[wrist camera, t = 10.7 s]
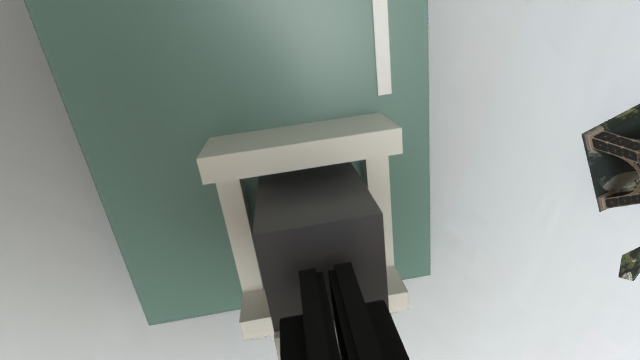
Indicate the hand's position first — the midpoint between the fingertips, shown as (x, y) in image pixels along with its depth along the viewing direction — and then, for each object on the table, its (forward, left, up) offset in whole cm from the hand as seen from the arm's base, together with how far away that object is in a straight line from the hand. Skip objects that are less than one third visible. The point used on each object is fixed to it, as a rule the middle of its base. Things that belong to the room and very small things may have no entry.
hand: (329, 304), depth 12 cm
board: (-5, -2, -8) cm, 9 cm away
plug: (0, 0, -7) cm, 7 cm away
